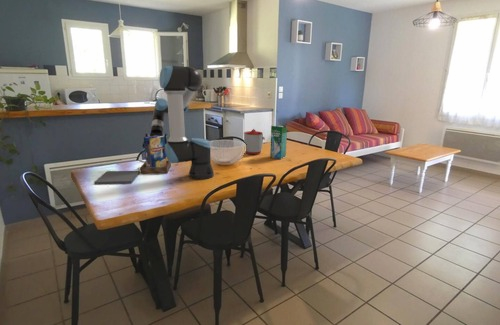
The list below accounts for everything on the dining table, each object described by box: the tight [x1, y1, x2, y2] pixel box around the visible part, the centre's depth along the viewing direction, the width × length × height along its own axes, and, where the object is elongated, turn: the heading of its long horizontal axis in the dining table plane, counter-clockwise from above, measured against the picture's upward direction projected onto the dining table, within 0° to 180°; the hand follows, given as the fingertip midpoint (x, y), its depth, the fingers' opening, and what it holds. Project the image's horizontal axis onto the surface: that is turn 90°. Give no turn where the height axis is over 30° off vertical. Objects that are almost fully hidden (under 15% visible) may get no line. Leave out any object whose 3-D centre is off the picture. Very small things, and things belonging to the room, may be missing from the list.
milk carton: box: [269, 125, 288, 160], centre depth 227 cm, size 9×9×25 cm
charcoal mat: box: [93, 170, 141, 185], centre depth 177 cm, size 20×20×2 cm
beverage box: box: [143, 135, 167, 167], centre depth 192 cm, size 7×11×22 cm, turn 140°
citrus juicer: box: [243, 128, 266, 155], centre depth 240 cm, size 16×17×20 cm
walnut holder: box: [139, 160, 172, 175], centre depth 194 cm, size 16×16×4 cm
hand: (154, 156), depth 189 cm, fingers closed on beverage box, 8 cm apart
